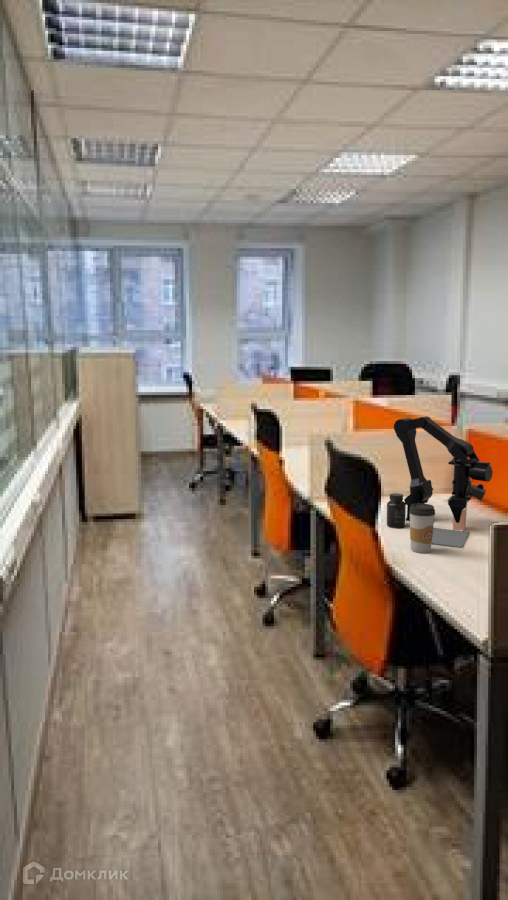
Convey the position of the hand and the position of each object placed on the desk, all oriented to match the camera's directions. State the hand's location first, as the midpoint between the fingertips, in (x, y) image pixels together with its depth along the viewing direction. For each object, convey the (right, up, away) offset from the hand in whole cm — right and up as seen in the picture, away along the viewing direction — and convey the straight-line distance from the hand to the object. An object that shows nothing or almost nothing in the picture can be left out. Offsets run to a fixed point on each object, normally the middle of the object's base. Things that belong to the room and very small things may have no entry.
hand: (459, 519), depth 246 cm
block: (0, -3, +1) cm, 4 cm away
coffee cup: (-20, -8, -24) cm, 32 cm away
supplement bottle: (-22, -3, +4) cm, 23 cm away
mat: (-8, -5, -11) cm, 14 cm away
